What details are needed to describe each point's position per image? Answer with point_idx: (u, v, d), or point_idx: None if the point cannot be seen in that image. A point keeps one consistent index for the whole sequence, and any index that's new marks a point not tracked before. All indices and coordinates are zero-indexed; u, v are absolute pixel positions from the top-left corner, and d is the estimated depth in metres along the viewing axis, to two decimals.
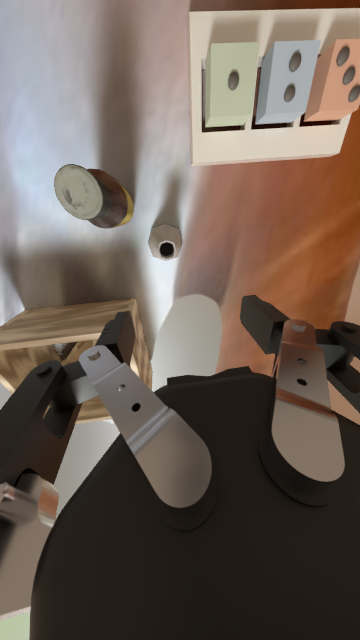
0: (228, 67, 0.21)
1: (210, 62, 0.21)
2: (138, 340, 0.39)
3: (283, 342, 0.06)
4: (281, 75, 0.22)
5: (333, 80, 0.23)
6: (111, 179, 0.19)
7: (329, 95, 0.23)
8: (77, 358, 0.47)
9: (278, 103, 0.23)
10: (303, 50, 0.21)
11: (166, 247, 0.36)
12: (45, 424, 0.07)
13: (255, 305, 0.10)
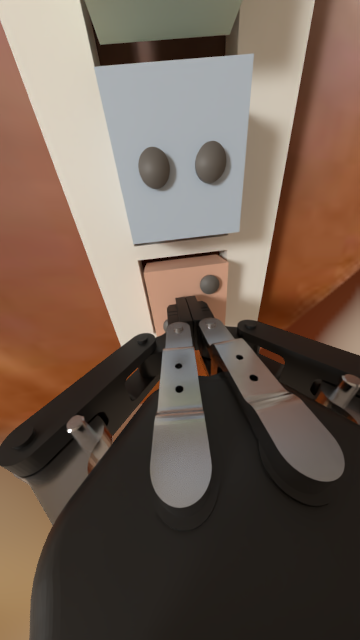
0: None
1: None
2: None
3: (215, 346, 0.06)
4: (188, 120, 0.07)
5: (184, 282, 0.12)
6: None
7: (166, 284, 0.12)
8: None
9: (130, 131, 0.07)
10: (228, 188, 0.08)
11: None
12: (130, 380, 0.08)
13: (188, 305, 0.11)
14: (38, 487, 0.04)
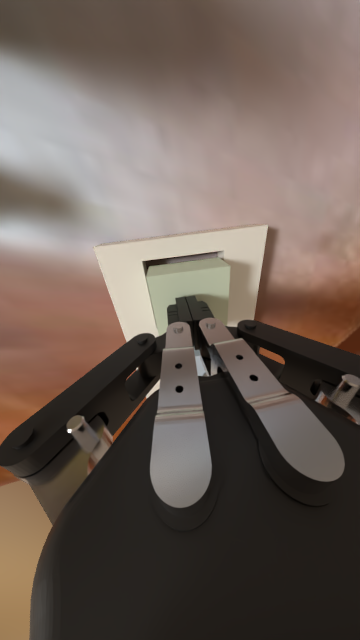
0: (205, 298, 0.13)
1: (212, 267, 0.12)
2: None
3: (215, 346, 0.06)
4: (200, 367, 0.17)
5: None
6: None
7: None
8: None
9: None
10: None
11: None
12: (130, 380, 0.08)
13: (188, 305, 0.11)
14: (38, 487, 0.04)
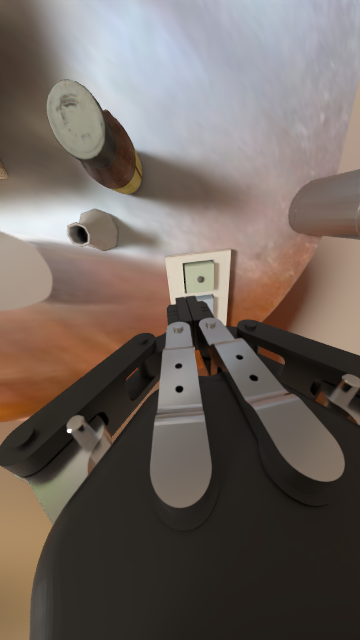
0: (205, 275, 0.36)
1: (208, 264, 0.35)
2: None
3: (215, 346, 0.06)
4: None
5: None
6: (124, 173, 0.19)
7: None
8: None
9: None
10: None
11: None
12: (130, 380, 0.08)
13: (188, 305, 0.11)
14: (38, 487, 0.04)
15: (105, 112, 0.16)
